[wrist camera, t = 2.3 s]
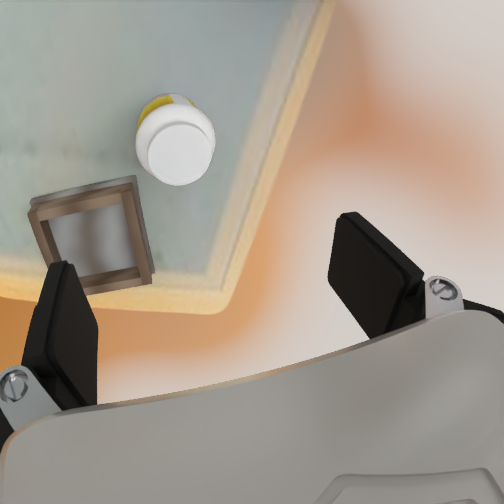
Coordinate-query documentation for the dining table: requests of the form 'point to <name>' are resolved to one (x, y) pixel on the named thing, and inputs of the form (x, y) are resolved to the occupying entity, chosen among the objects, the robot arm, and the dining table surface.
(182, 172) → the supplement bottle
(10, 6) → the dining table surface
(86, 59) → the dining table surface
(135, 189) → the shallow square brown tray
